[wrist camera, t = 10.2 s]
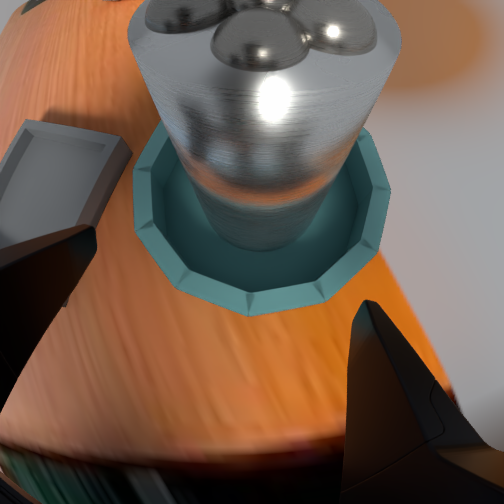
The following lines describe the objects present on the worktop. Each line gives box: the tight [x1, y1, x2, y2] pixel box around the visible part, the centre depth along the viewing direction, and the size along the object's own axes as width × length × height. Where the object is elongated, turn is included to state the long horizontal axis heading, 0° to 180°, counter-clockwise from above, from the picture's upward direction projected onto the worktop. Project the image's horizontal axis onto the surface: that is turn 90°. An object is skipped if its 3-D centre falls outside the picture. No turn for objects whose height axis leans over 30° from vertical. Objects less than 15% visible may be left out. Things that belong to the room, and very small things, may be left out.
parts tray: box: [0, 119, 133, 307], centre depth 17 cm, size 11×11×2 cm
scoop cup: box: [128, 0, 402, 252], centre depth 10 cm, size 6×6×13 cm
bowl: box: [133, 119, 391, 317], centre depth 16 cm, size 13×13×4 cm
